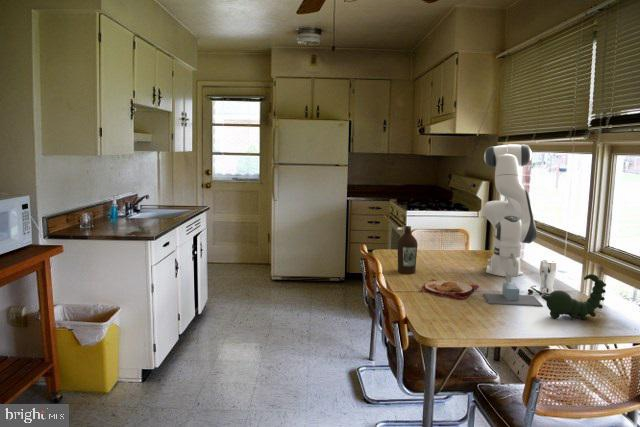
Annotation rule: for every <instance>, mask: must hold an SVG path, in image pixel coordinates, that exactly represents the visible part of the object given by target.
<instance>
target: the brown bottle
mask: <svg viewBox="0 0 640 427" xmlns="http://www.w3.org/2000/svg"><path fill="white" fill-rule="evenodd" d="M397 240H398V241H397V245H396V246H397V248H396V249H397V272H398V273H399V274H403V275H413V273H414V274H415V273H416V270H417V268H416V267H417V258H418V257H417V256H418V254H417V253H418V241H417V239H416V237H415V236H414V235H413V234H412V226H410V225H405V226H404V233H403V234H402V235H401V237H399V238H398V239H397Z"/></svg>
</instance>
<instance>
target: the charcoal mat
mask: <svg viewBox="0 0 640 427" xmlns="http://www.w3.org/2000/svg"><path fill="white" fill-rule="evenodd" d="M483 296H484V298H485V300H486V301H487V303H488V304H489V305H504V306H505V305H506V306H525V307H541V308H542V307H544V306H543V303H541V302H540V301H539V300H538V298H537V297H536V296H535V295H526V294H519V300H507V299H506V298H505V297H504V295H503V294H502V293H486V292H484V293H483Z"/></svg>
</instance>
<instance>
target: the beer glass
mask: <svg viewBox="0 0 640 427" xmlns="http://www.w3.org/2000/svg"><path fill="white" fill-rule="evenodd" d="M556 274H557V261H556V260H554V259H541V260H540V265H539V279H540V287H539V291H540V292H539V293H541V292H543V293H542V294H544V293H546V294H545V295H549V294H550V293H551V292H553V291H554V282H555V279H556Z"/></svg>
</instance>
